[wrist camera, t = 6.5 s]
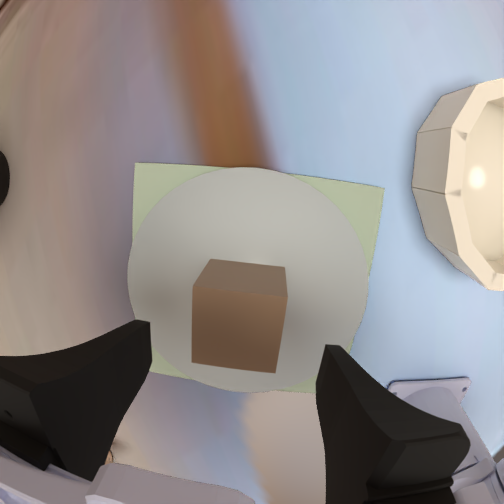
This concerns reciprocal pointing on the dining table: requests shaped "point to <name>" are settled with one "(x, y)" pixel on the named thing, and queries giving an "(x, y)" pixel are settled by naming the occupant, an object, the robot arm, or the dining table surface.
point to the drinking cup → (3, 177)
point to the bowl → (465, 180)
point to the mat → (339, 192)
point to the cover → (247, 279)
